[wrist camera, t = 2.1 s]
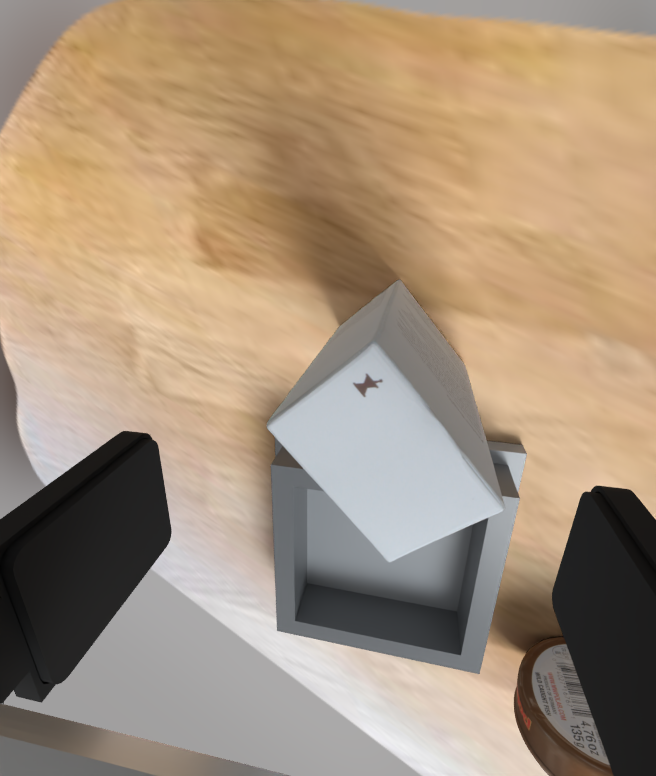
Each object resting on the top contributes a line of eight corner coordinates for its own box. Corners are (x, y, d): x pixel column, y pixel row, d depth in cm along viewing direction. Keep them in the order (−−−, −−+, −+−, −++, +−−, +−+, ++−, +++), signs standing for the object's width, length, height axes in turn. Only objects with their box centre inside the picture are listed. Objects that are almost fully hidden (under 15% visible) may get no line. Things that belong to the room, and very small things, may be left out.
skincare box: (336, 327, 23) (256, 422, 12) (399, 276, 21) (375, 333, 10) (403, 410, 24) (387, 570, 13) (469, 368, 22) (515, 510, 11)
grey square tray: (522, 444, 23) (541, 486, 19) (482, 626, 28) (491, 686, 24) (279, 417, 25) (255, 449, 22) (284, 587, 31) (265, 636, 27)
